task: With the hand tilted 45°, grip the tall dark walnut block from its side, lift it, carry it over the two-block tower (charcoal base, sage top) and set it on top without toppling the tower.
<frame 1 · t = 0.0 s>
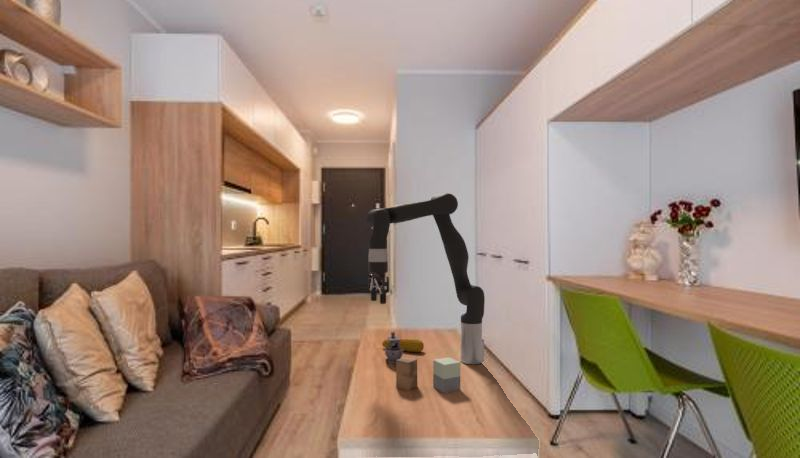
hand: (378, 302, 167), 29 cm above the table, tool pointing down, fingers open, 8 cm apart
tower base: (446, 388, 155), on the table, touching tower top
walnut block: (406, 387, 156), on the table
tower top: (446, 374, 155), point 5 cm above the table, touching tower base
food: (402, 351, 205), on the table
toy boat: (393, 362, 187), on the table
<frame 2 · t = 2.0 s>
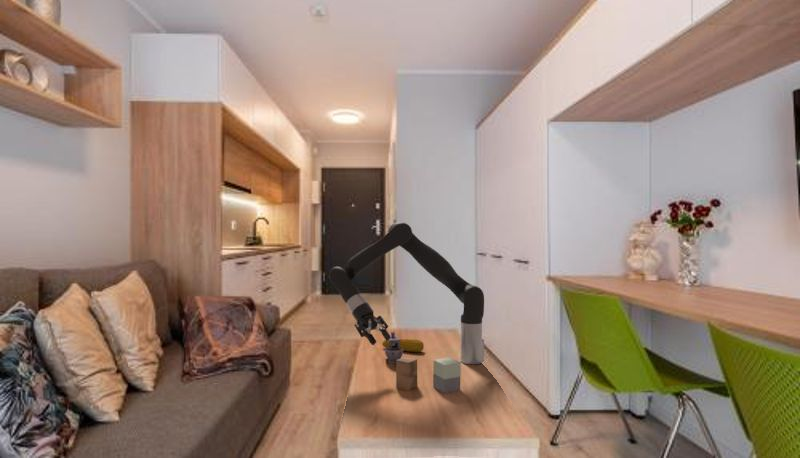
hand: (381, 341, 163), 15 cm above the table, tool tilted 45°, fingers open, 8 cm apart
nothing on the table moved.
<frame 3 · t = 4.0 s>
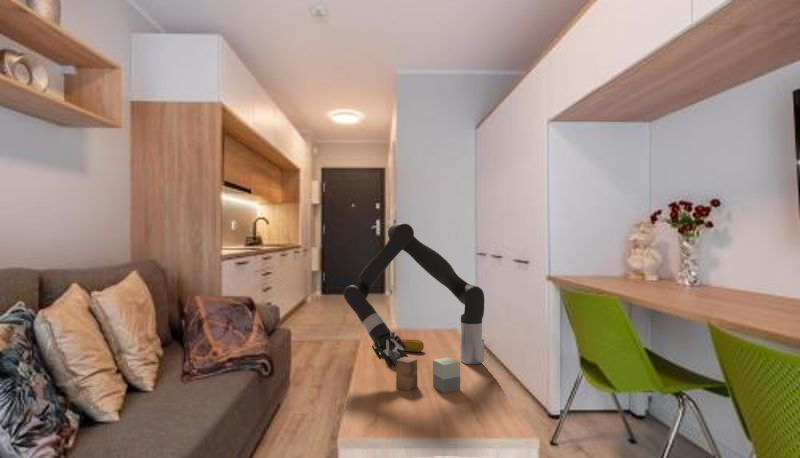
hand: (400, 363, 158), 8 cm above the table, tool tilted 45°, fingers open, 8 cm apart
nothing on the table moved.
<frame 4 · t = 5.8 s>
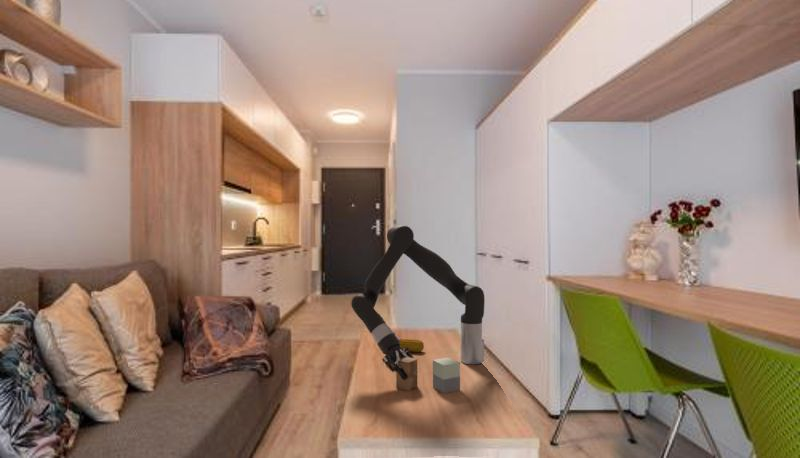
hand: (410, 376, 155), 4 cm above the table, tool tilted 45°, fingers closed on walnut block, 5 cm apart
walnut block: (406, 387, 156), on the table, touching gripper
everything else where it was.
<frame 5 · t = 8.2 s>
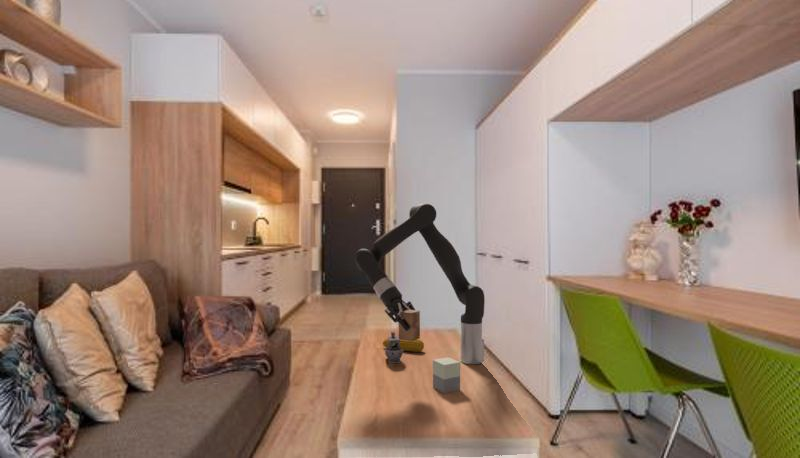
hand: (413, 327, 156), 22 cm above the table, tool tilted 45°, fingers closed on walnut block, 5 cm apart
walnut block: (409, 338, 157), point 18 cm above the table, touching gripper
everything else where it was.
when the fingers open (16 cm above the table, at t = 11.0 s): walnut block drops 1 cm, resting on tower top.
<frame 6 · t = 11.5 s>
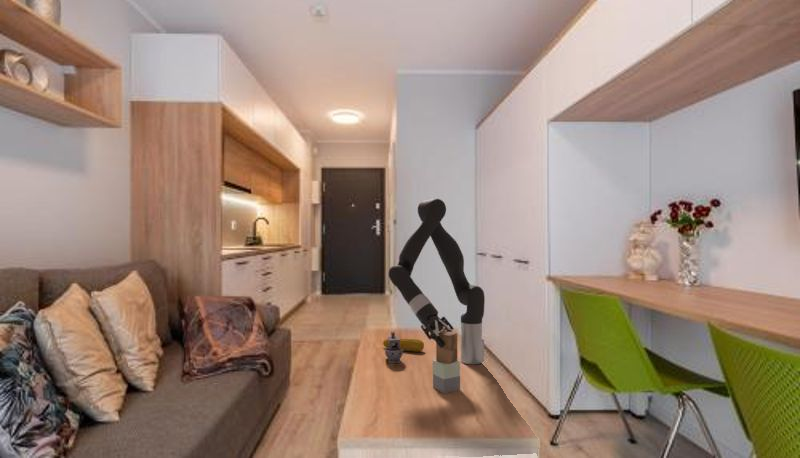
hand: (449, 344, 154), 16 cm above the table, tool tilted 45°, fingers open, 8 cm apart
walnut block: (446, 360, 155), point 10 cm above the table, touching tower top
tower top: (446, 374, 155), point 5 cm above the table, touching tower base, walnut block
everything else where it was.
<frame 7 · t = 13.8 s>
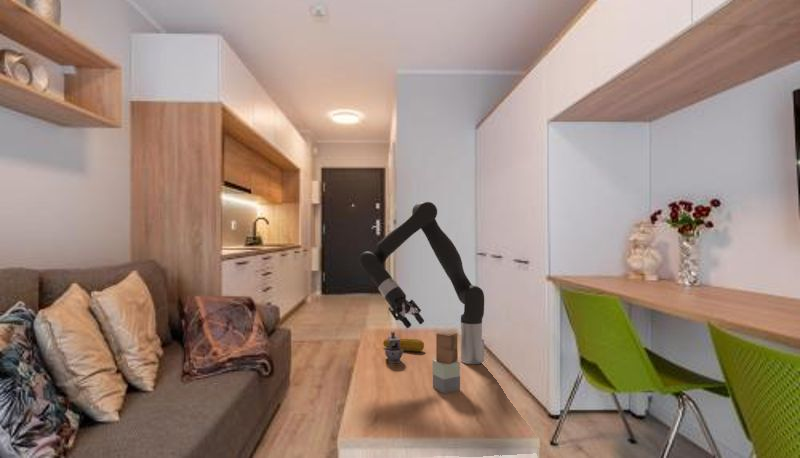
hand: (416, 324, 163), 21 cm above the table, tool tilted 45°, fingers open, 8 cm apart
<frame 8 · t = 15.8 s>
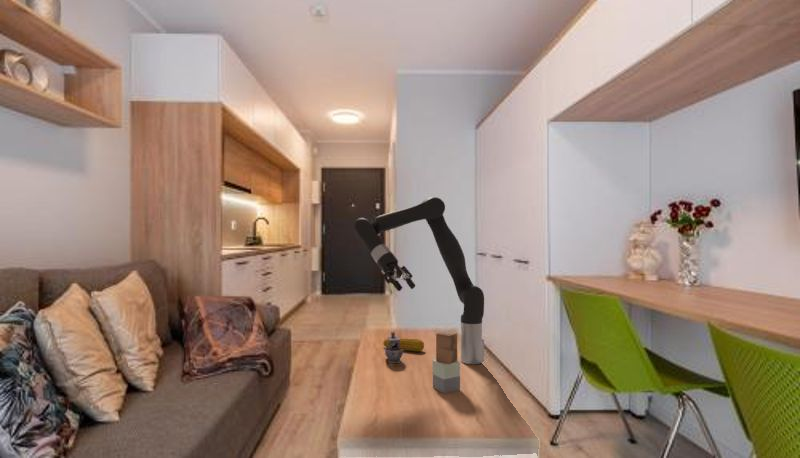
hand: (407, 288, 166), 35 cm above the table, tool tilted 45°, fingers open, 8 cm apart
at the end: walnut block 0.3 cm off-centre on the tower top, point 5.0 cm above the tower top's base; walnut block tilted 0°; tower top moved 0.3 cm from its start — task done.
